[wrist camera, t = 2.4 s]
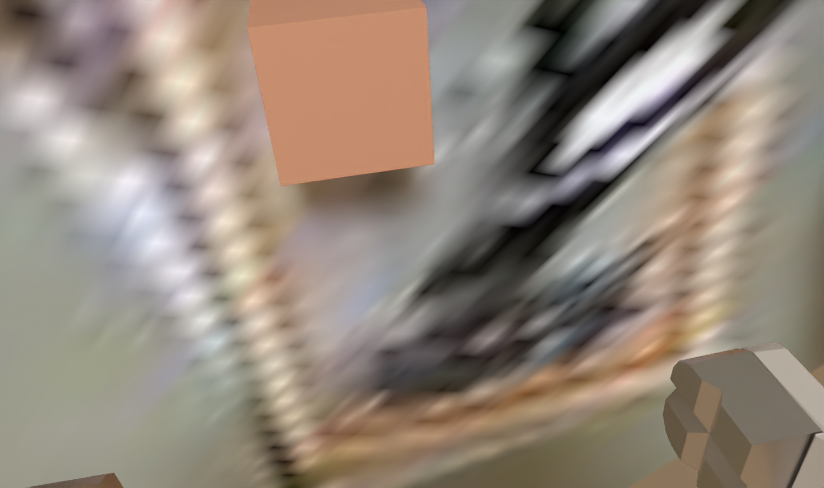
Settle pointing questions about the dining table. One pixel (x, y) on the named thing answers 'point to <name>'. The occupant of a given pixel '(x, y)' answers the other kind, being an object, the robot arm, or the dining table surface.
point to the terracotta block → (343, 85)
